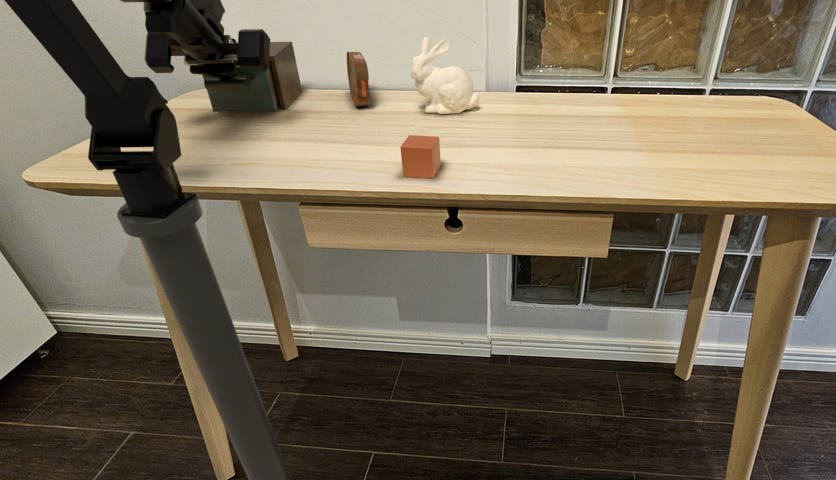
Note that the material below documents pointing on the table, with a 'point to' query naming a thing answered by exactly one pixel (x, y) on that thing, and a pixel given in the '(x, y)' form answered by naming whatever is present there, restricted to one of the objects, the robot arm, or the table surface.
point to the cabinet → (285, 72)
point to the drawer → (243, 91)
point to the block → (420, 156)
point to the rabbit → (442, 81)
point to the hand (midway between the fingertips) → (233, 77)
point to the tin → (358, 78)
